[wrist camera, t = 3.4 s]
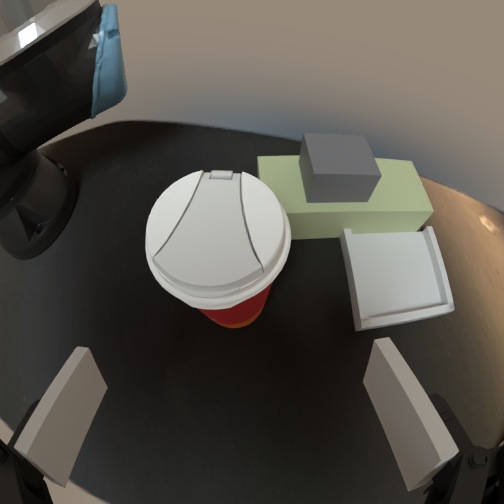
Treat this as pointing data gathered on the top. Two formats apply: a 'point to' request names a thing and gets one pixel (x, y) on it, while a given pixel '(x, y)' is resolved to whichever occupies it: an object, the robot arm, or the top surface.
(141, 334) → the top surface
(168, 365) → the top surface
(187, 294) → the paper cup
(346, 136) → the green block with cube
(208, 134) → the top surface
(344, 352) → the top surface
